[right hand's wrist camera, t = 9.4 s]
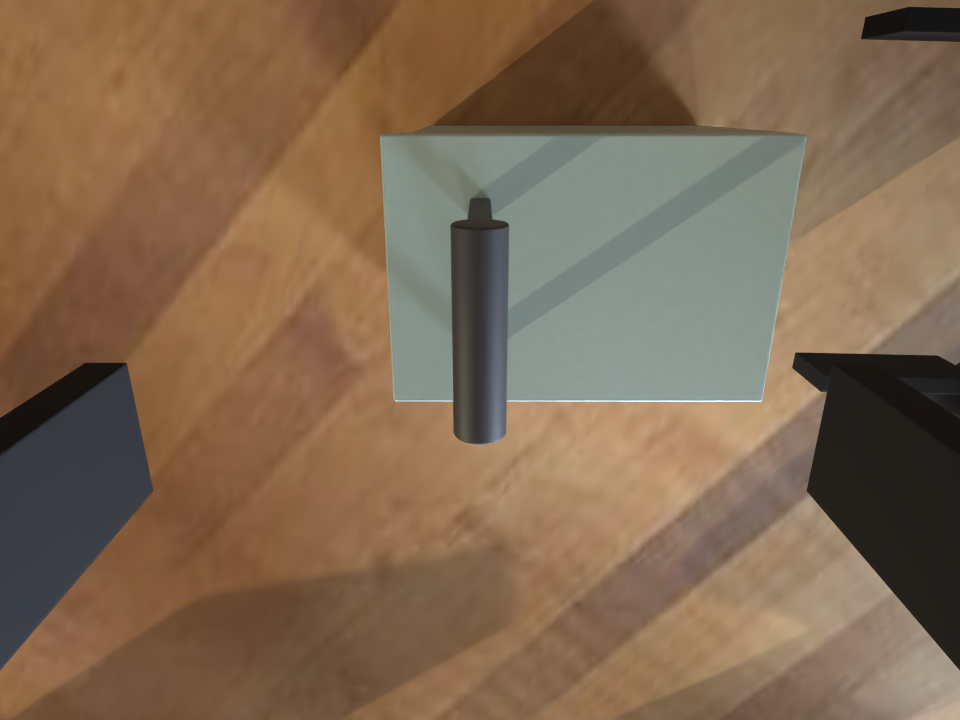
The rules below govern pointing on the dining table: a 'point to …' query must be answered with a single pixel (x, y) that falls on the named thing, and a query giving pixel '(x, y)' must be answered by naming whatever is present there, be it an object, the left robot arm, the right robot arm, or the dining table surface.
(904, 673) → the dining table surface
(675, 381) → the lid
